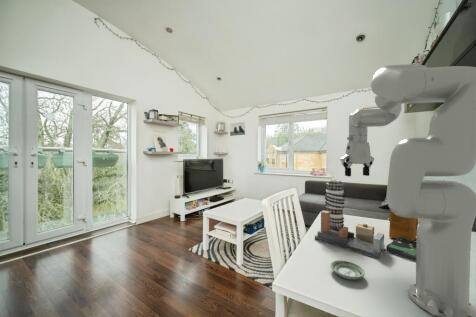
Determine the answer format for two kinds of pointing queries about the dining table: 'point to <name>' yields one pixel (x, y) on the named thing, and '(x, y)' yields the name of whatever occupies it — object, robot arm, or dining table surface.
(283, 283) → the dining table surface
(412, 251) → the disk drive
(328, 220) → the reddish brown stepped block
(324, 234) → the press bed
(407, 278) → the dining table surface
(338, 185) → the decorative candle
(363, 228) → the maple block
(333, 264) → the saucer
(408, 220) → the coffee package
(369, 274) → the dining table surface
